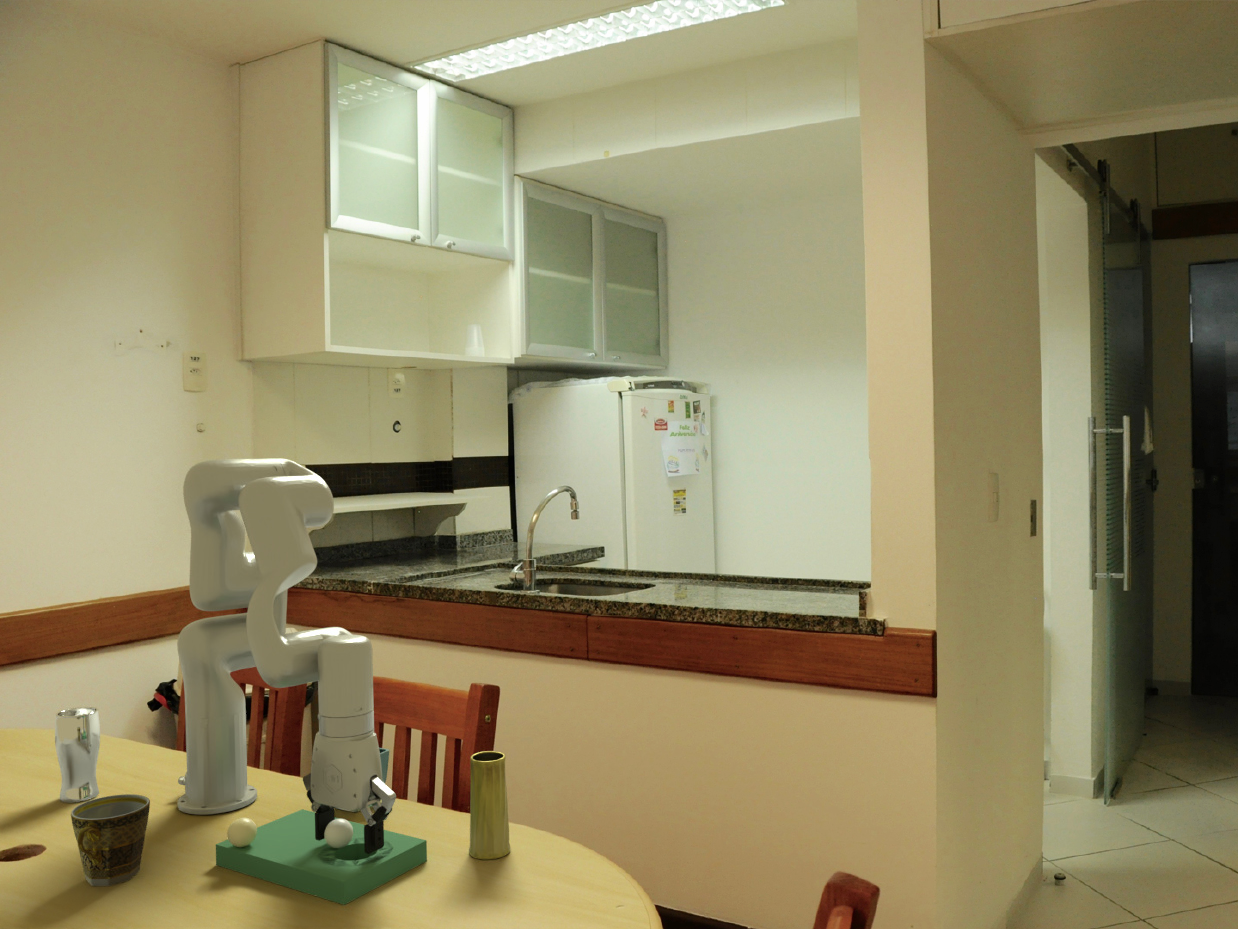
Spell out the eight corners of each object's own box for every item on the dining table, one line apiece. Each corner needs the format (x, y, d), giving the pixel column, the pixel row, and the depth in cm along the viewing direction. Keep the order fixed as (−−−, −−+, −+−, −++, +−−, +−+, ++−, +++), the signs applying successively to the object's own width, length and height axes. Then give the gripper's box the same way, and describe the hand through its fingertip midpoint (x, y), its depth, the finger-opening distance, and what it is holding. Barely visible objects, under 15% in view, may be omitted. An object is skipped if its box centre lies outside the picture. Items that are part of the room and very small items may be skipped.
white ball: (342, 839, 141) (330, 858, 142) (363, 829, 144) (351, 848, 145) (325, 818, 142) (314, 837, 144) (346, 809, 146) (335, 828, 147)
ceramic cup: (97, 861, 148) (95, 794, 147) (164, 861, 147) (162, 793, 147) (44, 902, 135) (42, 828, 134) (117, 902, 134) (115, 827, 134)
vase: (477, 863, 145) (475, 765, 144) (463, 848, 150) (461, 754, 150) (516, 855, 148) (514, 758, 147) (501, 840, 153) (500, 747, 153)
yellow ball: (221, 848, 144) (220, 820, 144) (244, 838, 148) (244, 811, 148) (240, 853, 142) (239, 825, 142) (263, 844, 146) (262, 816, 145)
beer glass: (110, 794, 176) (107, 709, 176) (70, 806, 171) (68, 719, 170) (87, 787, 180) (85, 704, 180) (48, 799, 174) (46, 713, 174)
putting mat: (216, 865, 146) (215, 844, 146) (302, 828, 159) (302, 809, 159) (344, 905, 132) (343, 882, 132) (426, 861, 146) (426, 840, 146)
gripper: (283, 722, 144) (286, 841, 144) (371, 739, 135) (374, 865, 135) (324, 710, 150) (326, 824, 150) (410, 725, 141) (413, 846, 141)
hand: (349, 843), depth 143 cm, fingers open, 9 cm apart
